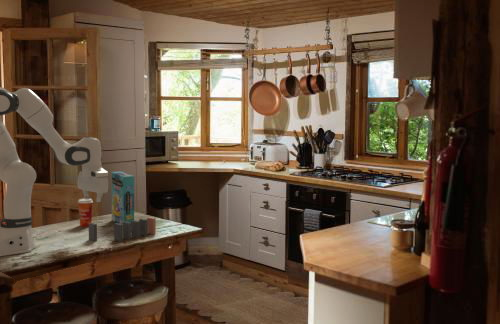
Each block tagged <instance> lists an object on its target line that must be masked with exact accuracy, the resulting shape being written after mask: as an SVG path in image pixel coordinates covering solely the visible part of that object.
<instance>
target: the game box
mask: <svg viewBox="0 0 500 324" xmlns="http://www.w3.org/2000/svg"><path fill="white" fill-rule="evenodd" d="M131 220H135V175H132V174H130V173H126V172H124V171H111V221H113V222H114V223H119V224H122V225H123V222H125V221H126V222H130V223H131Z"/></svg>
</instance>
